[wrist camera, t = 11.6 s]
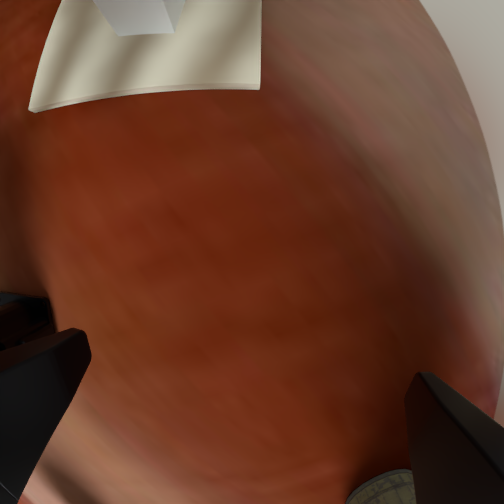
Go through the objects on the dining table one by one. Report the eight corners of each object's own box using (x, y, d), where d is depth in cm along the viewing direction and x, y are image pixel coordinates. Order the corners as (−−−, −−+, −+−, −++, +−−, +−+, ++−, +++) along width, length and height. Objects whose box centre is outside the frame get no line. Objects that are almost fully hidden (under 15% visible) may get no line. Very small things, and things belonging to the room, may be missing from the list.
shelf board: (35, 112, 18) (17, 104, 15) (70, -6, 16) (60, -19, 14) (259, 89, 18) (261, 74, 16) (261, -33, 17) (263, -51, 14)
